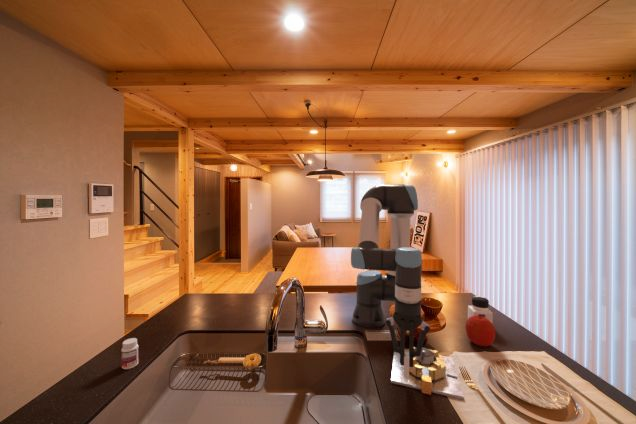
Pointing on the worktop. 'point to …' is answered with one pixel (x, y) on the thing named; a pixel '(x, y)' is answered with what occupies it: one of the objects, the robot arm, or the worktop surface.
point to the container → (480, 308)
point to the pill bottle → (130, 353)
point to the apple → (480, 330)
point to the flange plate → (442, 386)
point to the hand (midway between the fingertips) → (406, 375)
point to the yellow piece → (428, 370)
